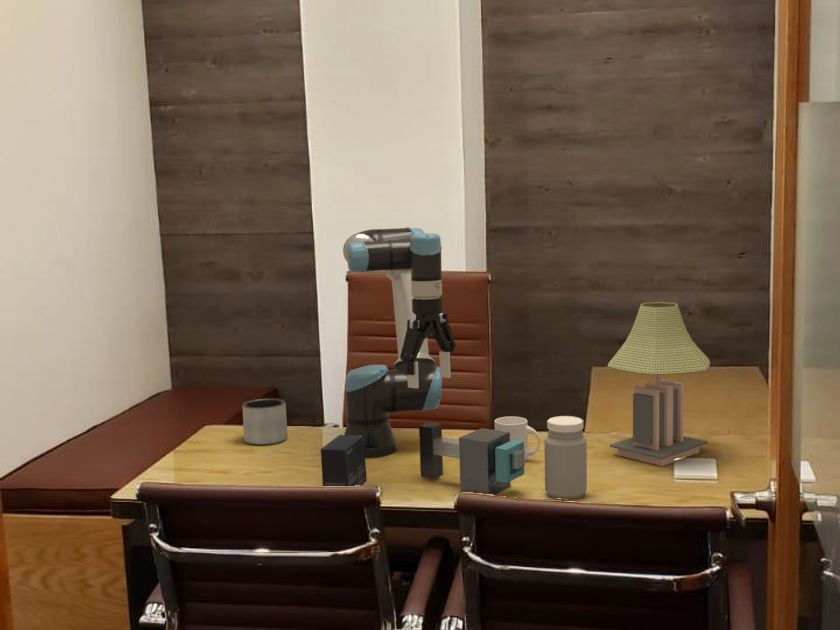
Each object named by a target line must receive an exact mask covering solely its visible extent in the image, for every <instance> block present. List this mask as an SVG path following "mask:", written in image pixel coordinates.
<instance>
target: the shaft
mask: <svg viewBox="0 0 840 630" xmlns="http://www.w3.org/2000/svg"><path fill="white" fill-rule="evenodd" d="M442 428H443V427H442V423H439V422H438V423H437V422H431V421H427V422H425V423H421V424H420V425H418V430H419V431H418V433H419V434H418V437H419V440H418V441H419V468H420V477H421V478H424V479H429V480H436V479H437V478H440V477H443V475H444V467H443V462H444V461H443V457H447V458H453V459H457V460H460V458H459V438H452V437H445V436H442V435H443V431H442V430H443V429H442ZM497 447H498V446H497ZM495 448H496V447H494V448H493V458H494V465H496V461H495ZM522 466H524V467H525V466H526V461H525V450H517V451H515V452H513V453H511V454H510V468H513V469H518V468H520V467H522Z"/></svg>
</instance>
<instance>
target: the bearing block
mask: <svg viewBox="0 0 840 630" xmlns="http://www.w3.org/2000/svg"><path fill="white" fill-rule="evenodd" d="M458 440H459V458H460V459H459V490H460V491H459V492H473V493H483V494H493V495H494V496H495V495H498V494H500V493H501V492H503V491H505V490H507V489H509V488H511V487H512V481H510V482H508V483H504V482H499V481H496V465H494V458H493V448H494V447H497V446H501V445H503V444H505V443H507V442H510V432H504V431H497V430H495V429H490V428H483V427H481V428H479V429H477V430H473V431H471V432H469V433H467V434H464V435H461V436H460V437H458Z"/></svg>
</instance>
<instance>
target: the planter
mask: <svg viewBox="0 0 840 630" xmlns="http://www.w3.org/2000/svg"><path fill="white" fill-rule="evenodd" d="M286 407H287V405H286V400H284V399H280V398H274V397H273V398H269V397H268V398H258V399H252V400H247V401H245V402H243V403H242V423H243V425H242V426H243V427H242V428H243V440H244V442H245V443H247V444H250V445H253V446H270V445H275V444H276V445H277V444H279V443H282V442H284V441H285V440H287V438H288V423H287V408H286Z"/></svg>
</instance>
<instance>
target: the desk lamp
mask: <svg viewBox="0 0 840 630" xmlns="http://www.w3.org/2000/svg"><path fill="white" fill-rule="evenodd" d="M679 307H680V306H679V305H678V303H676V302H668V301H667V302H666V301H665V302H664V301H652V302H650V301H649V302H642V303H641V304H640V306H639V308H638V312H637V315H636V317H635V320H634V323H633V325H632V327H631V331H630V332H629V334H628V336H627V338H626V340H625V341H624V343H623V344H622V345H621V347H620V348H619V349H618V351H616V353H615V355H613V357H612V358H611V359H610V360H609V362H608V364H607V367H608V369H613V370H618V371H622V372H628V373H634V374H635V373H636V374H641V375H651V376H653V375H655V382H650V381H649V382H646V383H644V385H643V386H644V387H643V386H639V385H635V386H633V388H632V389H633V391H632V392H633V394H632V437H629V438H626V439H623V440H620V441H616V442H614V443H611V444H609V448H613V449H616V452H617V453H616V455H617V456H619V457H623V458H628V459H632V460H635V461H640V462H643V463H648V464H653V465H657V466H660V467H663V466H666V465H668V464H671V463H674V462H675V461H674V459H676V458H682V457H685V456H688V457H690V456H689V455H691V454H693V455H695V454H694V453H696V454H698V453H697V452H699V453H700V447H701V446H703V445H706V444H708V441H707V440H702V439H698V438H693V437H690V436H684V426H685V425H684V422H685V421H684V420H685V418H684V416H685V414H684V413H685V412H684V411H685V408H684V407H685V406H684V405H685V399H684V398H685V383H684V382H679V381H672V380H667V379H663V376H662V375H680V374H691V373H699V372H705V371H706V370H707V369H708V368H709V367H710V364H711V362H710V359H709V357H707V355H706V354H705V353H704V352H703V351H702V350H701V348H700V347H698V346H697V344H696V343H695V341H693V339H692V337H691V336H690V334H689V332H688V331H687V327H686V325H685V323H684V319H683V316H682V314H681V311H680V308H679ZM691 456H692V455H691ZM685 458H686V457H685ZM682 459H683V458H682ZM673 461H674V462H673Z"/></svg>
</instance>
